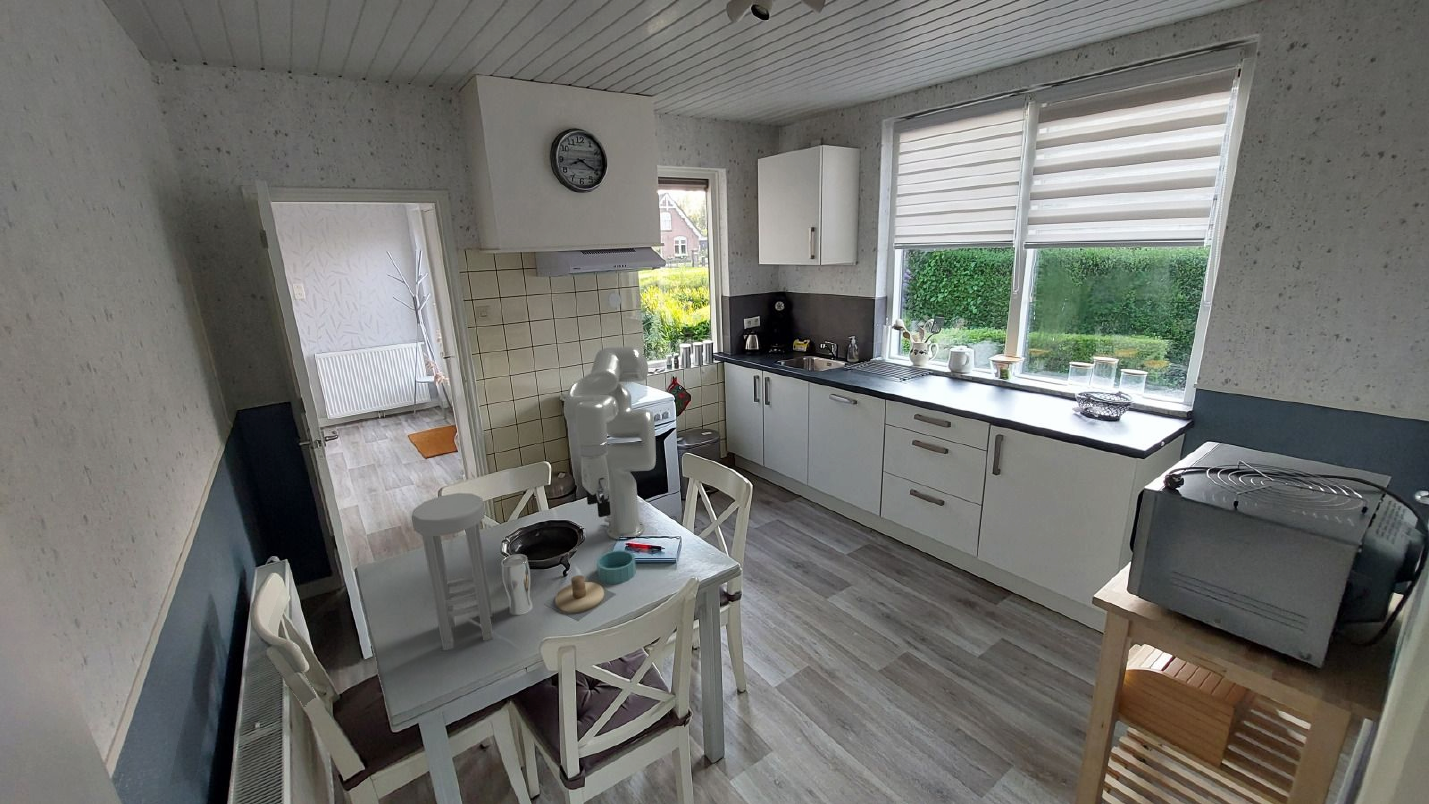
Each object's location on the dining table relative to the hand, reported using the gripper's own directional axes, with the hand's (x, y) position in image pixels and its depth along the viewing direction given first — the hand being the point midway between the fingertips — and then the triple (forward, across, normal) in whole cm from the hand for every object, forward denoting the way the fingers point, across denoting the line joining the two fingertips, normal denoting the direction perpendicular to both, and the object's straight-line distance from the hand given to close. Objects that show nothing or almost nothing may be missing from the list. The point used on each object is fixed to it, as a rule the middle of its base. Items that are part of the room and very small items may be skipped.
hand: (598, 509), depth 156 cm
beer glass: (+26, -6, -22) cm, 35 cm away
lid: (+25, -2, -7) cm, 26 cm away
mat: (+26, -2, -7) cm, 27 cm away
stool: (+26, -4, -35) cm, 44 cm away
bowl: (+26, -9, +6) cm, 28 cm away
